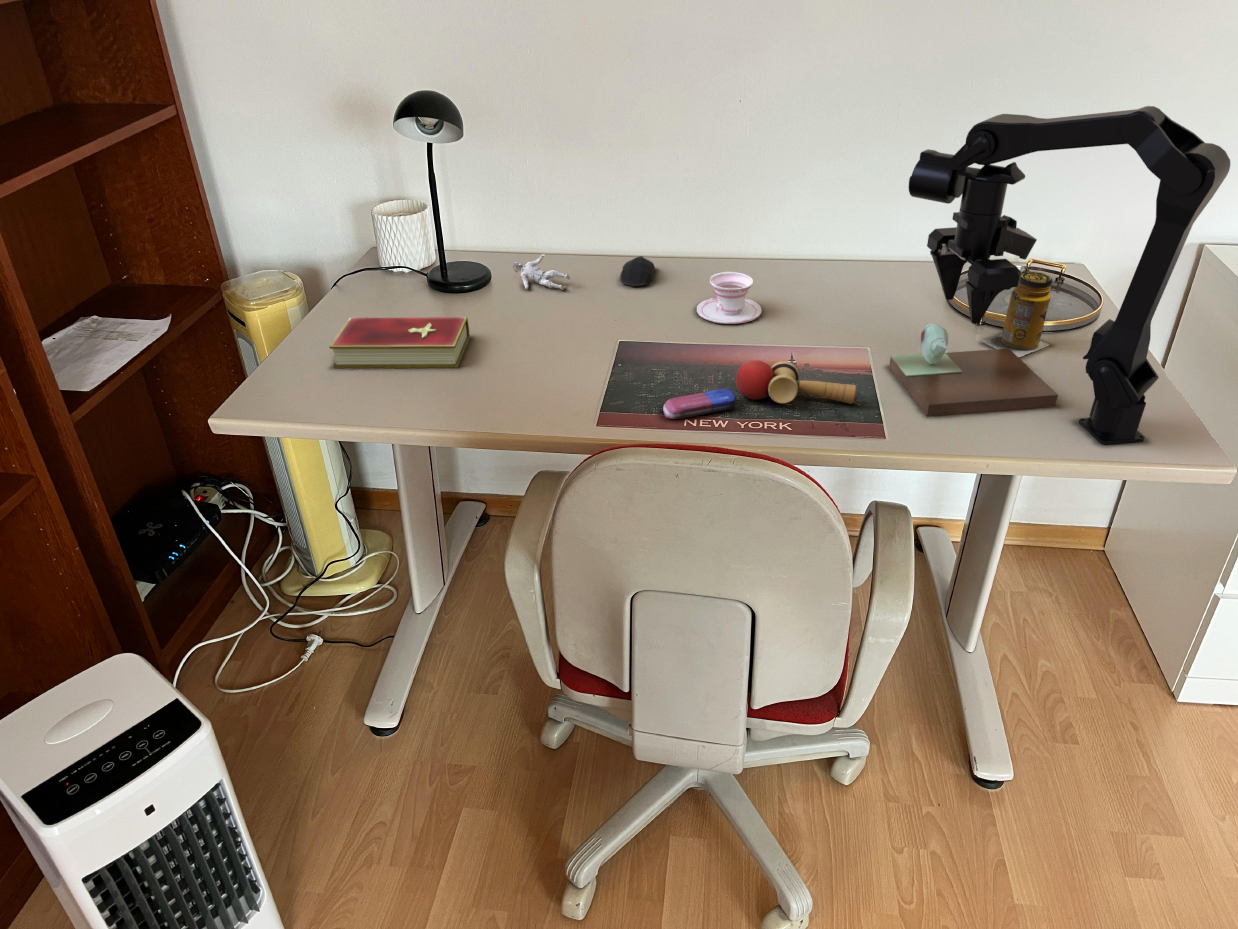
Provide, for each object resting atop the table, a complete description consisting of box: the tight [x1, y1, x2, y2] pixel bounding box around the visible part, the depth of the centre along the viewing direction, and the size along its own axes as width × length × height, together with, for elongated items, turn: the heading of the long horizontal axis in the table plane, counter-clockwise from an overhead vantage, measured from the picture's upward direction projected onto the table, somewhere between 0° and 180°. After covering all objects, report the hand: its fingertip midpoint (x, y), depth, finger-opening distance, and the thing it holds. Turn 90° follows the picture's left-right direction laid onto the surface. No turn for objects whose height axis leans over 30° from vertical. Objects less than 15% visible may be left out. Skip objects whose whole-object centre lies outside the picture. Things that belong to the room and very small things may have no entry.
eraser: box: [662, 388, 737, 420], centre depth 138 cm, size 11×4×2 cm, turn 105°
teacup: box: [696, 271, 763, 325], centre depth 167 cm, size 12×12×6 cm
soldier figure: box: [512, 254, 571, 291], centre depth 181 cm, size 8×5×12 cm
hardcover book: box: [328, 316, 471, 369], centre depth 157 cm, size 12×21×4 cm, turn 88°
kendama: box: [735, 359, 857, 405], centre depth 139 cm, size 8×6×18 cm
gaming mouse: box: [619, 255, 656, 287], centre depth 184 cm, size 6×15×4 cm, turn 170°
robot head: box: [920, 322, 949, 364], centre depth 143 cm, size 8×4×7 cm, turn 170°
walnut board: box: [888, 348, 1059, 417], centre depth 142 cm, size 16×20×2 cm
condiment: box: [981, 271, 1053, 358], centre depth 151 cm, size 7×8×12 cm
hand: (961, 310), depth 139 cm, fingers open, 9 cm apart
